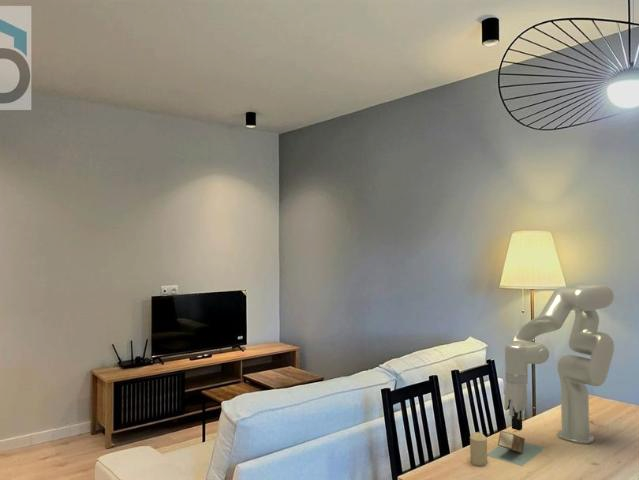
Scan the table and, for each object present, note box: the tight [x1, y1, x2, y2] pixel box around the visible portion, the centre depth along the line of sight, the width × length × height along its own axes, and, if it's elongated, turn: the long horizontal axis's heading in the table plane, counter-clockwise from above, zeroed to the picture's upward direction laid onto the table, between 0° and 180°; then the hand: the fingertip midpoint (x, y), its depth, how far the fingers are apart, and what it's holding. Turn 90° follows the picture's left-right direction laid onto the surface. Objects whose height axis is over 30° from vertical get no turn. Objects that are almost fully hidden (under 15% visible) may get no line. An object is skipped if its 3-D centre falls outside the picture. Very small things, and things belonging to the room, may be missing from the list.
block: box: [497, 430, 526, 453], centre depth 173 cm, size 5×5×10 cm
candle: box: [469, 431, 488, 467], centre depth 168 cm, size 6×6×10 cm
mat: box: [487, 442, 546, 467], centre depth 176 cm, size 21×13×1 cm, turn 136°
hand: (517, 429), depth 177 cm, fingers closed
